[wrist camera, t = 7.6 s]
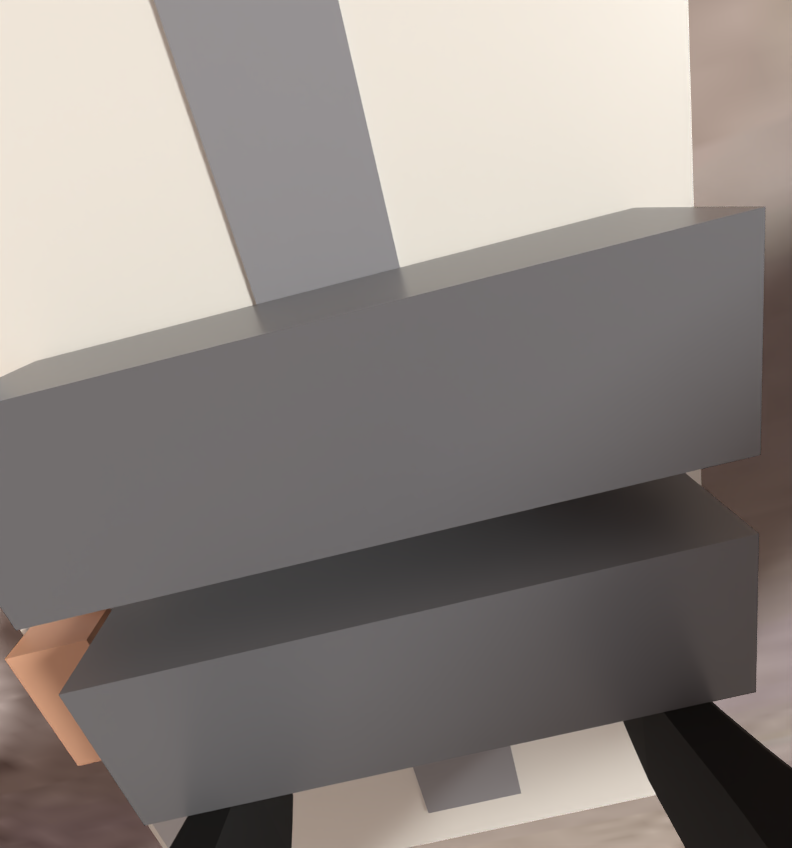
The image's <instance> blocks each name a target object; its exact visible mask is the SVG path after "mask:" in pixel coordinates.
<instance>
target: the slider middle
mask: <svg viewBox="0 0 792 848" xmlns="http://www.w3.org/2000/svg"><path fill="white" fill-rule="evenodd" d="M764 251H765V207H644V208H630V209H627V210H623V211H619V212H615V213H611V214H607V215H603V216H599V217H595V218H591V219H588V220H584V221H580V222H576V223H572V224H568V225H564V226H560V227H556V228H552V229H549V230H545V231H541V232H537V233H533V234H529V235H525V236H521V237H517V238H513V239H510V240H506V241H502V242H498V243H494V244H490V245H486V246H482V247H478V248H474V249H471V250H467V251H463V252H459V253H455V254H451V255H447V256H443V257H439V258H435V259H432V260H428V261H424V262H420V263H416V264H412V265H408V266H404V267H400V268H396V269H393V270H389V271H385V272H381V273H377V274H373V275H369V276H365V277H361V278H357V279H354V280H350V281H346V282H342V283H338V284H334V285H330V286H326V287H322V288H319V289H315V290H311V291H307V292H303V293H299V294H295V295H291V296H287V297H283V298H280V299H276V300H272V301H268V302H264V303H260V304H256V305H252V306H248V307H244V308H241V309H237V310H233V311H229V312H225V313H221V314H217V315H213V316H209V317H205V318H202V319H198V320H194V321H190V322H186V323H182V324H178V325H174V326H170V327H166V328H163V329H159V330H155V331H151V332H147V333H143V334H139V335H135V336H131V337H127V338H124V339H120V340H116V341H112V342H108V343H104V344H100V345H96V346H92V347H88V348H85V349H81V350H77V351H73V352H69V353H65V354H61V355H57V356H53V357H49V358H46V359H42V360H38V361H34V362H32V363H30V364H28V365H26V366H24V367H21V368H19V369H17V370H15V371H13V372H10V373H8V374H6V375H4V376H2V377H0V607H1V608H2V610H3V612H4V613H5V615H6V616H7V618H8V619H9V621H10V622H11V624H12V625H13V627H14V628H15V630H21V629H25V628H29V627H33V626H37V625H42V624H46V623H50V622H54V621H59V620H63V619H67V618H71V617H76V616H80V615H84V614H88V613H93V612H97V611H101V610H105V609H110V608H114V607H118V606H122V605H127V604H131V603H135V602H139V601H143V600H148V599H152V598H156V597H160V596H165V595H169V594H173V593H177V592H182V591H186V590H190V589H194V588H199V587H203V586H207V585H211V584H216V583H220V582H224V581H228V580H233V579H237V578H241V577H245V576H249V575H254V574H258V573H262V572H266V571H271V570H275V569H279V568H283V567H288V566H292V565H296V564H300V563H305V562H309V561H313V560H317V559H322V558H326V557H330V556H334V555H339V554H343V553H347V552H351V551H356V550H360V549H364V548H368V547H372V546H377V545H381V544H385V543H389V542H394V541H398V540H402V539H406V538H411V537H415V536H419V535H423V534H428V533H432V532H436V531H440V530H445V529H449V528H453V527H457V526H462V525H466V524H470V523H474V522H478V521H483V520H487V519H491V518H495V517H500V516H504V515H508V514H512V513H517V512H521V511H525V510H529V509H534V508H538V507H542V506H546V505H551V504H555V503H559V502H563V501H568V500H572V499H576V498H580V497H584V496H589V495H593V494H597V493H601V492H606V491H610V490H614V489H618V488H623V487H627V486H631V485H635V484H640V483H644V482H648V481H652V480H657V479H661V478H665V477H669V476H674V475H678V474H682V473H686V472H690V471H695V470H699V469H703V468H707V467H712V466H716V465H720V464H724V463H729V462H733V461H737V460H741V459H746V458H750V457H754V456H758V455H761V405H762V354H763V302H764Z"/></svg>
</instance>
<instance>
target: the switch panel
mask: <svg viewBox="0 0 792 848" xmlns="http://www.w3.org/2000/svg"><path fill="white" fill-rule="evenodd" d="M644 207H694V196H693V160H692V124H691V88H690V51H689V15H688V0H0V377H2V376H4V375H6V374H8V373H10V372H13V371H15V370H17V369H19V368H21V367H24V366H26V365H28V364H30V363H32V362H34V361H38V360H42V359H46V358H49V357H53V356H57V355H61V354H65V353H69V352H73V351H77V350H81V349H85V348H88V347H92V346H96V345H100V344H104V343H108V342H112V341H116V340H120V339H124V338H127V337H131V336H135V335H139V334H143V333H147V332H151V331H155V330H159V329H163V328H166V327H170V326H174V325H178V324H182V323H186V322H190V321H194V320H198V319H202V318H205V317H209V316H213V315H217V314H221V313H225V312H229V311H233V310H237V309H241V308H244V307H248V306H252V305H256V304H260V303H264V302H268V301H272V300H276V299H280V298H283V297H287V296H291V295H295V294H299V293H303V292H307V291H311V290H315V289H319V288H322V287H326V286H330V285H334V284H338V283H342V282H346V281H350V280H354V279H357V278H361V277H365V276H369V275H373V274H377V273H381V272H385V271H389V270H393V269H396V268H400V267H404V266H408V265H412V264H416V263H420V262H424V261H428V260H432V259H435V258H439V257H443V256H447V255H451V254H455V253H459V252H463V251H467V250H471V249H474V248H478V247H482V246H486V245H490V244H494V243H498V242H502V241H506V240H510V239H513V238H517V237H521V236H525V235H529V234H533V233H537V232H541V231H545V230H549V229H552V228H556V227H560V226H564V225H568V224H572V223H576V222H580V221H584V220H588V219H591V218H595V217H599V216H603V215H607V214H611V213H615V212H619V211H623V210H627V209H630V208H644ZM686 474H687V475H688V476H690V477H691V478H692V479H693V480H694V481H696V482H697V483H698V484H699V485H701V469H699V470H695V471H690V472H686ZM701 486H702V485H701ZM112 609H113V608H110V609H105V610H101V611H97V612H93V613H88V614H84V615H80V616H76V617H71V618H67V619H63V620H59V621H54V622H50V623H46V624H42V625H37V626H33V627H29V628H25V629H21V630H20V631H21V632H22V634H23V637H22V638H21V639H20V641H19V642H18V643H17V644H16V646H15V647H14V648H13V649H12V651H11V652H10V653H9V654H8V656H7V657H6V658H5V660H6V662H7V663H8V665H9V666H10V668H11V669H12V671H13V672H14V673H15V675H16V676H17V678H18V679H19V681H20V682H21V684H22V685H23V687H24V688H25V689H26V691H27V692H28V694H29V695H30V697H31V698H32V700H33V701H34V703H35V704H36V705H37V707H38V708H39V710H40V711H41V713H42V714H43V716H44V717H45V719H46V720H47V721H48V723H49V724H50V726H51V727H52V729H53V730H54V732H55V733H56V735H57V736H58V737H59V739H60V740H61V742H62V743H63V745H64V746H65V748H66V749H67V751H68V752H69V753H70V755H71V756H72V758H73V759H74V761H75V762H76V764H77V765H78V766H81V765H85V764H90V763H94V762H99V761H102V760H101V759H100V757H99V756H98V754H97V753H96V751H95V750H94V748H93V747H92V745H91V744H90V742H89V741H88V739H87V738H86V736H85V734H84V733H83V731H82V730H81V728H80V727H79V725H78V724H77V722H76V721H75V719H74V718H73V716H72V715H71V713H70V712H69V710H68V709H67V707H66V706H65V704H64V703H63V701H62V700H61V698H60V697H59V693H60V691H61V690H62V688H63V687H64V685H65V684H66V682H67V680H68V679H69V677H70V676H71V674H72V672H73V671H74V669H75V668H76V666H77V665H78V663H79V661H80V660H81V658H82V657H83V655H84V654H85V652H86V650H87V649H88V647H89V646H90V644H91V642H92V641H93V639H94V638H95V636H96V635H97V633H98V631H99V630H100V628H101V627H102V625H103V624H104V622H105V620H106V619H107V617H108V616H109V614H110V612H111V611H112ZM654 795H656V793H655V791H654V790H653V788H652V786H651V784H650V782H649V780H648V778H647V776H646V774H645V771H644V769H643V767H642V764H641V762H640V760H639V758H638V755H637V753H636V751H635V749H634V746H633V744H632V742H631V739H630V737H629V735H628V732H627V730H626V727H625V725H624V723H623V721H621V722H617V723H612V724H607V725H603V726H598V727H594V728H589V729H585V730H580V731H575V732H571V733H566V734H562V735H557V736H552V737H548V738H543V739H539V740H534V741H530V742H525V743H520V744H516V745H511V746H507V747H502V748H498V749H493V750H488V751H484V752H479V753H475V754H470V755H465V756H461V757H456V758H452V759H447V760H443V761H438V762H433V763H429V764H424V765H420V766H415V767H411V768H406V769H401V770H397V771H392V772H388V773H383V774H378V775H374V776H369V777H365V778H360V779H356V780H351V781H346V782H342V783H337V784H333V785H328V786H324V787H319V788H314V789H310V790H305V791H301V792H296V793H293V825H292V848H409V847H414V846H418V845H423V844H428V843H432V842H437V841H442V840H447V839H451V838H456V837H461V836H465V835H470V834H475V833H480V832H484V831H489V830H494V829H498V828H503V827H508V826H512V825H517V824H522V823H527V822H531V821H536V820H541V819H545V818H550V817H555V816H560V815H564V814H569V813H574V812H578V811H583V810H588V809H593V808H597V807H602V806H607V805H611V804H616V803H621V802H625V801H630V800H635V799H640V798H644V797H649V796H654ZM186 818H187V816H186V817H182V818H177V819H172V820H168V821H163V822H159V823H154V824H150V825H148V826H149V828H150V829H151V831H152V833H153V834H154V836H155V837H156V839H157V840H158V842H159V843H160V845H161V846H162V848H170V846H171V844H172V842H173V841H174V839H175V837H176V835H177V834H178V832H179V830H180V829H181V827H182V825H183V823H184V822H185V820H186Z"/></svg>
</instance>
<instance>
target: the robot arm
mask: <svg viewBox="0 0 792 848" xmlns="http://www.w3.org/2000/svg"><path fill="white" fill-rule="evenodd" d="M623 723H624V725H625V727H626V730H627V732H628V735H629V737H630V739H631V742H632V744H633V746H634V749H635V751H636V753H637V755H638V758H639V760H640V762H641V764H642V767H643V769H644V771H645V774H646V776H647V778H648V780H649V782H650V784H651V786H652V788H653V790H654V791H655V793H656V795H657V797H658V799H659V801H660V802H661V804H662V806H663V808H664V810H665V812H666V813H667V815H668V817H669V819H670V821H671V822H672V824H673V826H674V828H675V830H676V832H677V833H678V835H679V837H680V839H681V841H682V842H683V844H684V846H685V848H792V768H791V767H790V766H789V765H788V764H786V763H785V762H784V761H782V760H781V759H780V758H779V757H777V756H776V755H775V754H774V753H772V752H771V751H770V750H769V749H767V748H766V747H765V746H764V745H762V744H761V743H760V742H759V741H758V740H756V739H755V738H754V737H753V736H752V735H751V734H749V733H748V732H747V731H746V730H745V729H743V728H742V727H741V726H740V725H739V724H737V723H736V722H735V721H734V720H733V719H731V718H730V717H729V716H728V715H727V714H725V713H724V712H723V711H722V710H721V709H720V708H719V707H717V706H716V705H715V704H714V703H713V702H707V703H702V704H698V705H693V706H689V707H684V708H680V709H675V710H671V711H666V712H662V713H658V714H653V715H649V716H644V717H639V718H635V719H630V720H626V721H623ZM292 825H293V793H291V794H287V795H282V796H278V797H273V798H269V799H264V800H259V801H255V802H250V803H246V804H241V805H237V806H232V807H227V808H223V809H218V810H214V811H209V812H205V813H200V814H195V815H191V816H187V818H186V820H185V822H184V823H183V825H182V827H181V829H180V830H179V832H178V834H177V835H176V837H175V839H174V841H173V842H172V844H171V846H170V848H292Z"/></svg>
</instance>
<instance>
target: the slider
mask: <svg viewBox="0 0 792 848" xmlns="http://www.w3.org/2000/svg"><path fill="white" fill-rule="evenodd" d="M758 559H759V533H758V532H756V531H755V530H754V529H753V528H752V527H750V526H749V525H748V524H747V523H745V522H744V521H743V520H742V519H741V518H739V517H738V516H737V515H736V514H735V513H733V512H732V511H731V510H730V509H728V508H727V507H726V506H725V505H724V504H722V503H721V502H720V501H719V500H718V499H716V498H715V497H714V496H713V495H711V494H710V493H709V492H708V491H707V490H705V489H704V488H703V487H702V486H701V485H699V484H698V483H697V482H696V481H694V480H693V479H692V478H691V477H690V476H688V475H687V474H686V473H682V474H678V475H674V476H669V477H665V478H661V479H657V480H652V481H648V482H644V483H640V484H635V485H631V486H627V487H623V488H618V489H614V490H610V491H606V492H601V493H597V494H593V495H589V496H584V497H580V498H576V499H572V500H568V501H563V502H559V503H555V504H551V505H546V506H542V507H538V508H534V509H529V510H525V511H521V512H517V513H512V514H508V515H504V516H500V517H495V518H491V519H487V520H483V521H478V522H474V523H470V524H466V525H462V526H457V527H453V528H449V529H445V530H440V531H436V532H432V533H428V534H423V535H419V536H415V537H411V538H406V539H402V540H398V541H394V542H389V543H385V544H381V545H377V546H372V547H368V548H364V549H360V550H356V551H351V552H347V553H343V554H339V555H334V556H330V557H326V558H322V559H317V560H313V561H309V562H305V563H300V564H296V565H292V566H288V567H283V568H279V569H275V570H271V571H266V572H262V573H258V574H254V575H249V576H245V577H241V578H237V579H233V580H228V581H224V582H220V583H216V584H211V585H207V586H203V587H199V588H194V589H190V590H186V591H182V592H177V593H173V594H169V595H165V596H160V597H156V598H152V599H148V600H143V601H139V602H135V603H131V604H127V605H122V606H118V607H114V608H113V609H112V611H111V612H110V614H109V616H108V617H107V619H106V620H105V622H104V624H103V625H102V627H101V628H100V630H99V631H98V633H97V635H96V636H95V638H94V639H93V641H92V642H91V644H90V646H89V647H88V649H87V650H86V652H85V654H84V655H83V657H82V658H81V660H80V661H79V663H78V665H77V666H76V668H75V669H74V671H73V672H72V674H71V676H70V677H69V679H68V680H67V682H66V684H65V685H64V687H63V688H62V690H61V691H60V693H59V697H60V698H61V700H62V701H63V703H64V704H65V706H66V707H67V709H68V710H69V712H70V713H71V715H72V716H73V718H74V719H75V721H76V722H77V724H78V725H79V727H80V728H81V730H82V731H83V733H84V734H85V736H86V738H87V739H88V741H89V742H90V744H91V745H92V747H93V748H94V750H95V751H96V753H97V754H98V756H99V757H100V759H101V760H102V762H103V763H104V765H105V766H106V768H107V769H108V771H109V772H110V774H111V775H112V777H113V779H114V780H115V782H116V783H117V785H118V786H119V788H120V789H121V791H122V792H123V794H124V795H125V797H126V798H127V800H128V801H129V803H130V804H131V806H132V807H133V809H134V810H135V812H136V813H137V815H138V816H139V818H140V819H141V821H142V823H143V824H144V826H145V825H150V824H154V823H159V822H163V821H168V820H172V819H177V818H182V817H186V816H191V815H195V814H200V813H205V812H209V811H214V810H218V809H223V808H227V807H232V806H237V805H241V804H246V803H250V802H255V801H259V800H264V799H269V798H273V797H278V796H282V795H287V794H291V793H296V792H301V791H305V790H310V789H314V788H319V787H324V786H328V785H333V784H337V783H342V782H346V781H351V780H356V779H360V778H365V777H369V776H374V775H378V774H383V773H388V772H392V771H397V770H401V769H406V768H411V767H415V766H420V765H424V764H429V763H433V762H438V761H443V760H447V759H452V758H456V757H461V756H465V755H470V754H475V753H479V752H484V751H488V750H493V749H498V748H502V747H507V746H511V745H516V744H520V743H525V742H530V741H534V740H539V739H543V738H548V737H552V736H557V735H562V734H566V733H571V732H575V731H580V730H585V729H589V728H594V727H598V726H603V725H607V724H612V723H617V722H621V721H626V720H630V719H635V718H639V717H644V716H649V715H653V714H658V713H662V712H666V711H671V710H675V709H680V708H684V707H689V706H693V705H698V704H702V703H707V702H713V701H717V700H722V699H726V698H731V697H736V696H740V695H745V694H749V693H754V692H756V661H757V610H758Z"/></svg>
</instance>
